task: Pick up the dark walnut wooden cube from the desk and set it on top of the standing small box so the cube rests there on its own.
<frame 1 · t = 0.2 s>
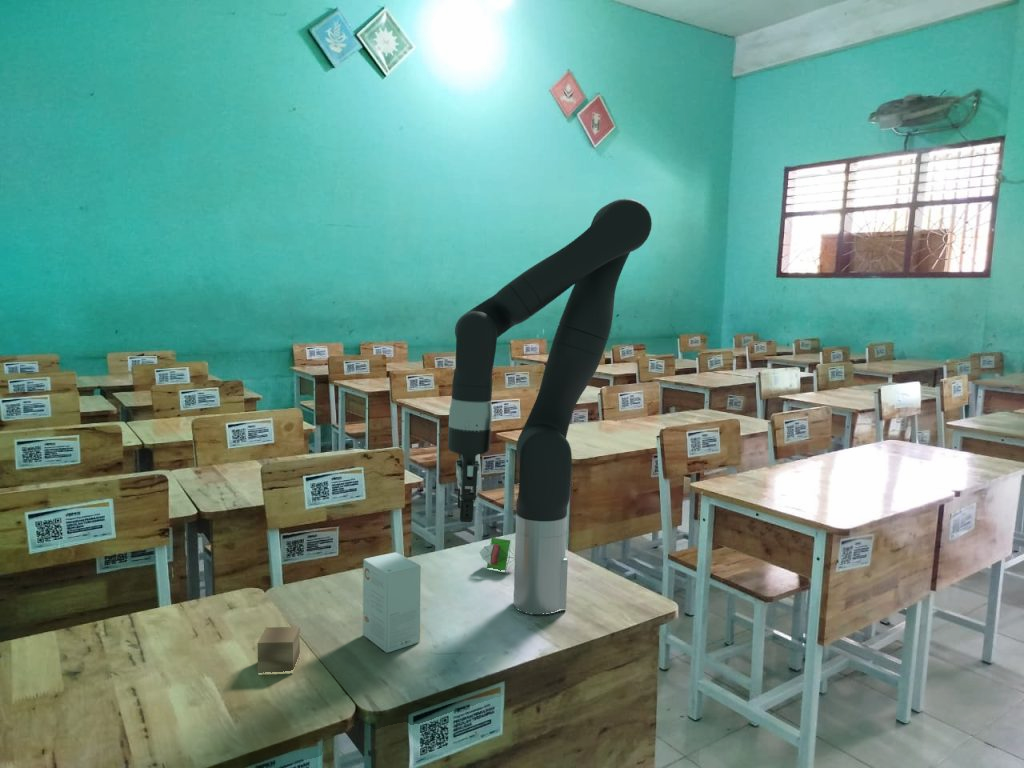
hand: (464, 514, 126), 17 cm above the table, tool pointing down, fingers open, 8 cm apart
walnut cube: (279, 666, 106), on the table
geometric puzzle: (498, 571, 147), on the table
small box: (391, 640, 115), on the table
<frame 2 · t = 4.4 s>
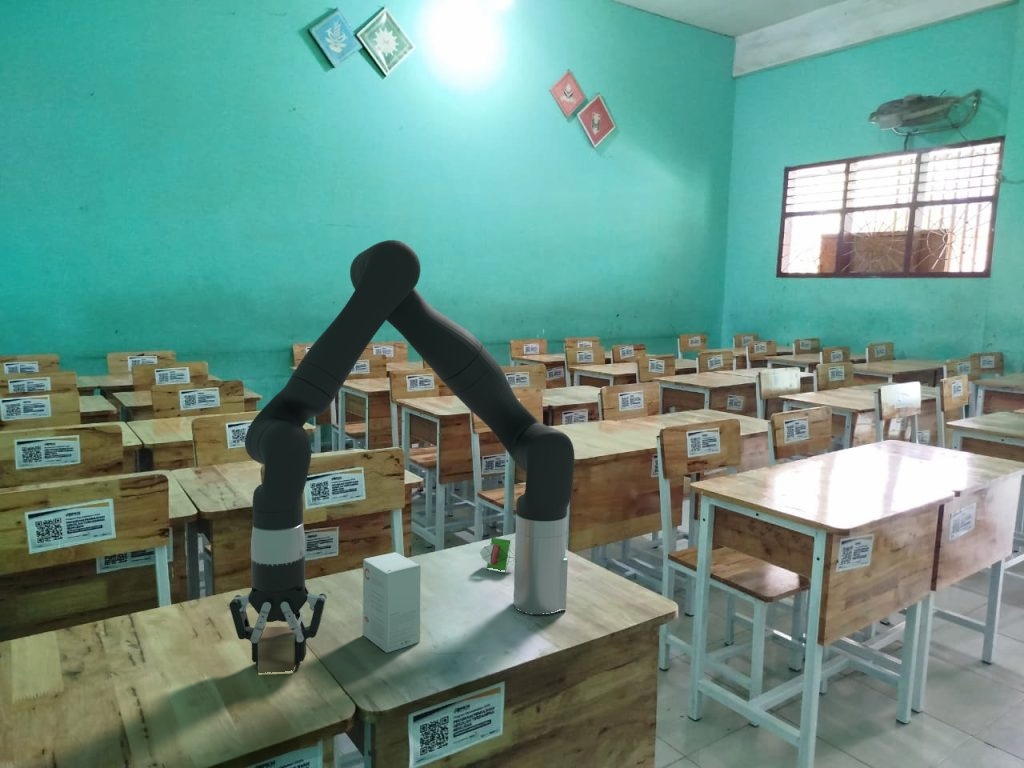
hand: (279, 662, 106), 0 cm above the table, tool pointing down, fingers closed on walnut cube, 5 cm apart
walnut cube: (279, 666, 106), on the table, touching gripper
everything else where it was.
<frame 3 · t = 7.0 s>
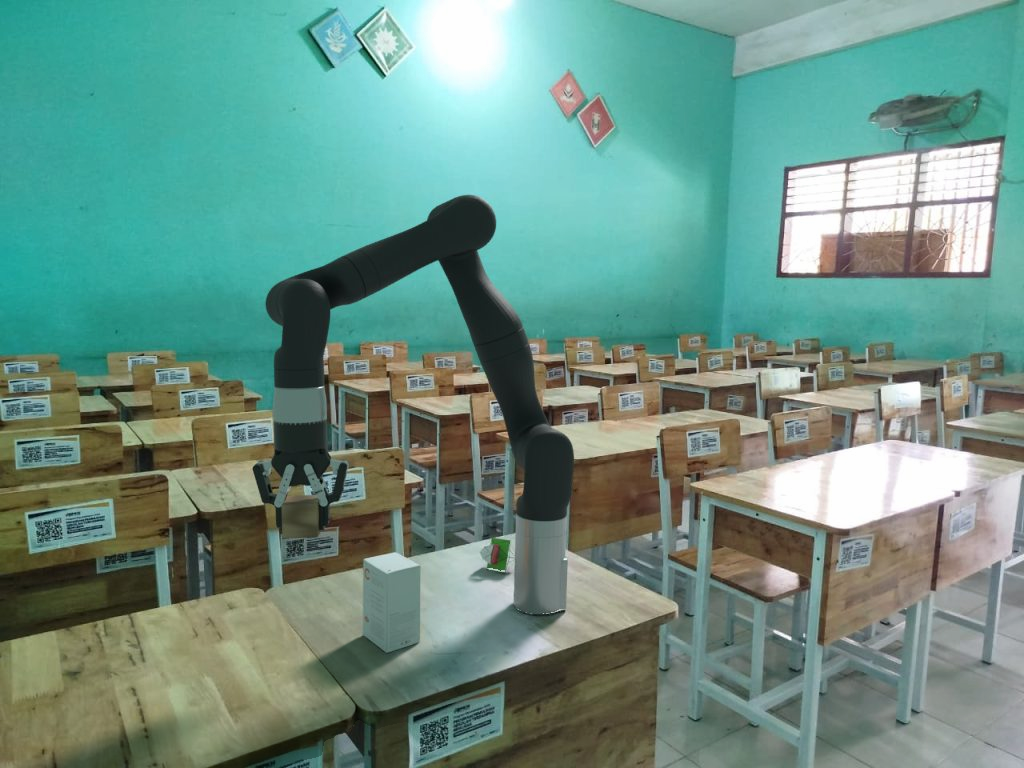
hand: (303, 528, 105), 21 cm above the table, tool pointing down, fingers closed on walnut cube, 5 cm apart
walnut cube: (303, 532, 105), point 20 cm above the table, touching gripper
everything else where it was.
when the fingers open (15 cm above the table, at t = 9.5 s): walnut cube drops 1 cm, resting on small box.
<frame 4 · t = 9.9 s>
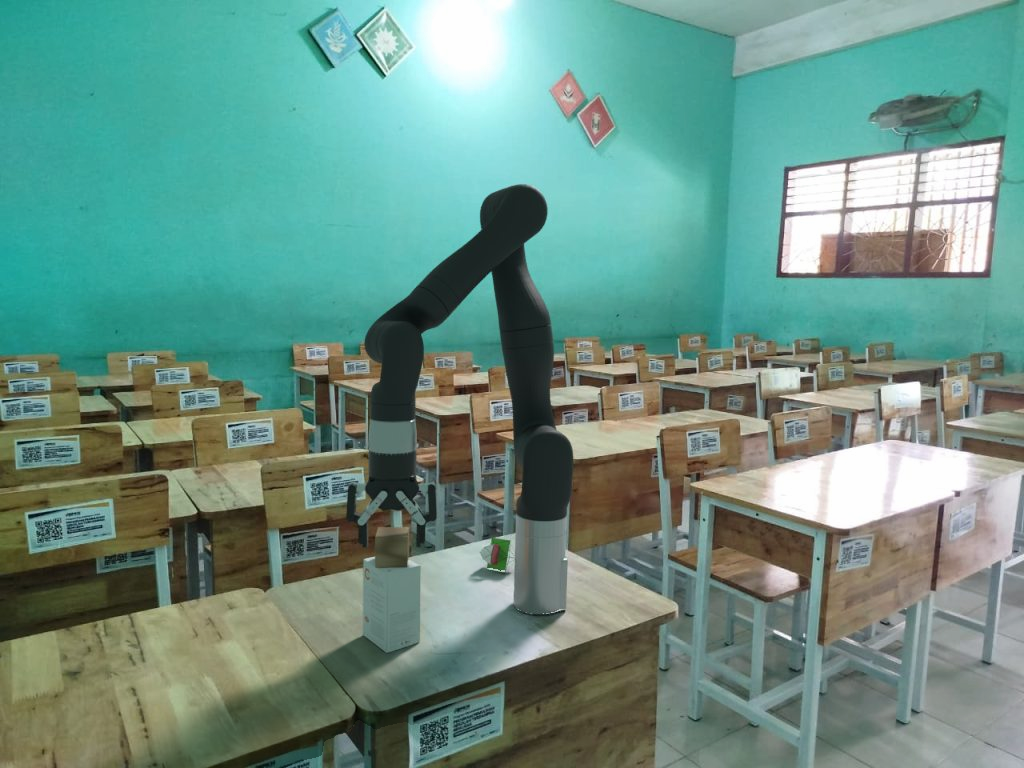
hand: (391, 546, 114), 16 cm above the table, tool pointing down, fingers open, 8 cm apart
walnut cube: (392, 561, 114), point 13 cm above the table, touching small box
small box: (391, 640, 115), on the table, touching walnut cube
everything else where it was.
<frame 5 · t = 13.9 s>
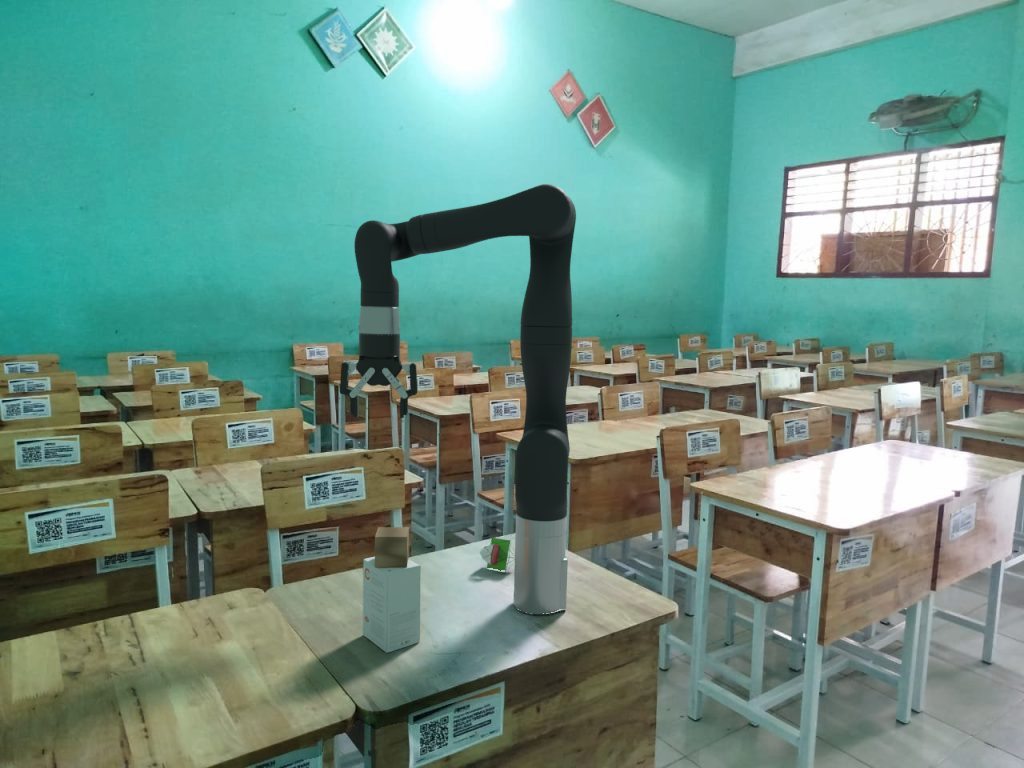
hand: (379, 417, 133), 33 cm above the table, tool pointing down, fingers open, 8 cm apart
nothing on the table moved.
at the end: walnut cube 0.1 cm off-centre on the small box, point 13.2 cm above the small box's base; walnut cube touching small box; the gripper is holding nothing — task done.
